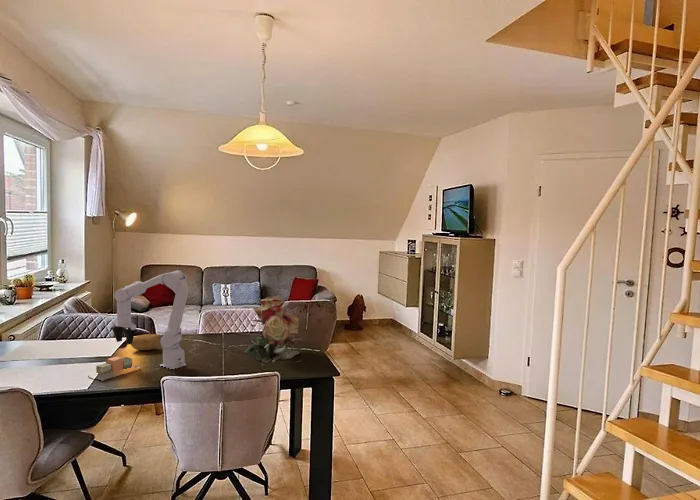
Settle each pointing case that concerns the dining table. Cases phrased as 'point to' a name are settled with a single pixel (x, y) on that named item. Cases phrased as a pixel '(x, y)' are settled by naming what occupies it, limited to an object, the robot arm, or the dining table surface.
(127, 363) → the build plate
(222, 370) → the dining table surface
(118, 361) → the terracotta block
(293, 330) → the rose bouquet
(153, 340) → the potato
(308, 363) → the dining table surface
